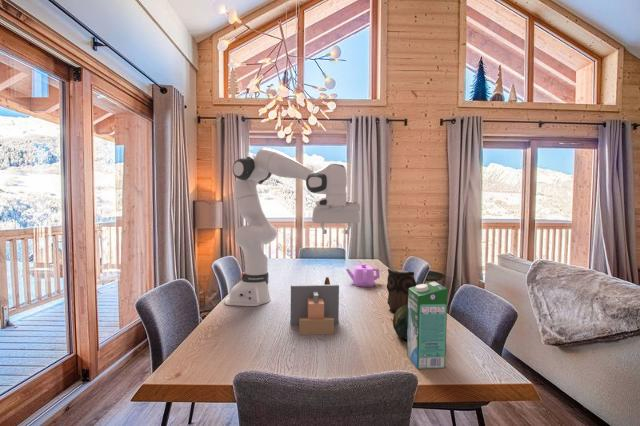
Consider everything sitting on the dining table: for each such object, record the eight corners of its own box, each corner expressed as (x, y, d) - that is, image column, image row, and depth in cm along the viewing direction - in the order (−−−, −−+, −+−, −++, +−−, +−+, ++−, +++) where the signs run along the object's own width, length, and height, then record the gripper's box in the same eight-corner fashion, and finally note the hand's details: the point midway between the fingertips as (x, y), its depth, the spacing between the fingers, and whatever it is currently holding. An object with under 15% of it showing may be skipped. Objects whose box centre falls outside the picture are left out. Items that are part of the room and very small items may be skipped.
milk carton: (406, 354, 107) (408, 280, 106) (432, 354, 107) (434, 280, 106) (417, 369, 98) (419, 288, 97) (445, 368, 98) (447, 288, 97)
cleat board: (290, 334, 121) (291, 293, 121) (290, 319, 137) (290, 282, 136) (342, 333, 123) (343, 292, 123) (336, 318, 139) (337, 282, 138)
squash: (389, 314, 130) (395, 294, 119) (426, 316, 129) (436, 296, 119) (392, 348, 119) (400, 330, 109) (433, 351, 119) (444, 333, 109)
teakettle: (366, 289, 186) (366, 268, 185) (343, 283, 198) (344, 263, 197) (382, 284, 198) (383, 264, 197) (360, 279, 210) (361, 260, 209)
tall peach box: (308, 324, 124) (308, 296, 124) (307, 317, 131) (307, 291, 131) (323, 323, 125) (324, 296, 124) (322, 317, 132) (322, 291, 131)
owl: (419, 317, 141) (420, 272, 141) (391, 317, 141) (392, 272, 140) (410, 307, 154) (411, 266, 153) (384, 307, 154) (385, 266, 153)
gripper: (358, 201, 140) (357, 233, 141) (312, 201, 138) (311, 233, 139) (361, 201, 134) (361, 234, 134) (313, 201, 132) (312, 234, 132)
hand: (335, 233), depth 136 cm, fingers open, 8 cm apart
